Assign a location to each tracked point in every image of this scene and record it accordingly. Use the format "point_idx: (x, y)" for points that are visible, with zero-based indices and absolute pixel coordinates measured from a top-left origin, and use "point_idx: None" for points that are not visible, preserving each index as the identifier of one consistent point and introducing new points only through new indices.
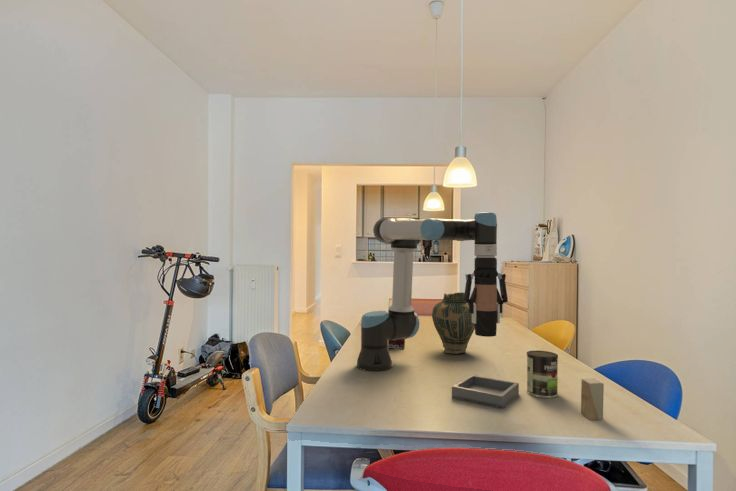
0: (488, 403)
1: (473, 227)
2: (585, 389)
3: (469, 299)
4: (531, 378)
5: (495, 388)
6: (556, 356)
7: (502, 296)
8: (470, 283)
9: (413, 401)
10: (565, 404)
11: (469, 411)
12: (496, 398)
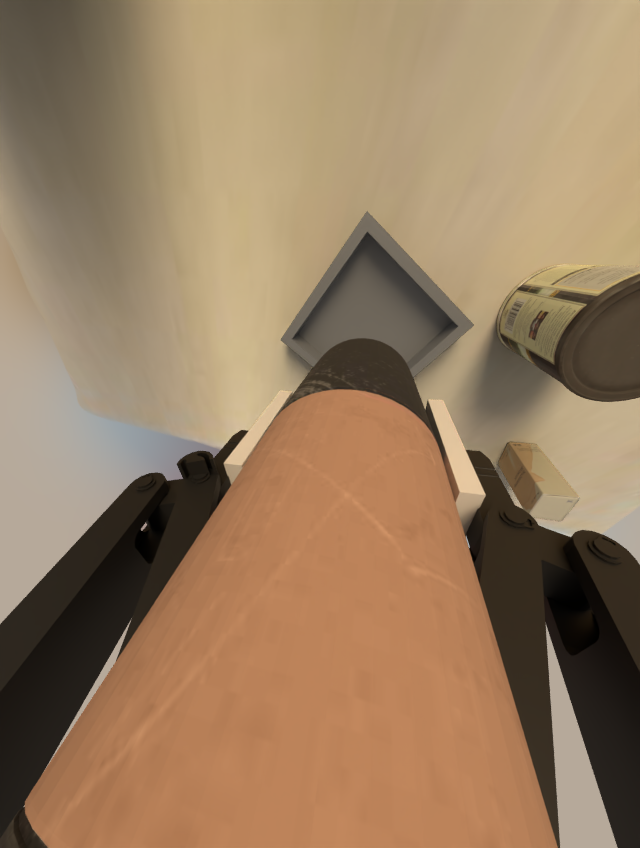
0: None
1: None
2: (525, 491)
3: (180, 495)
4: (517, 338)
5: (416, 286)
6: None
7: (604, 606)
8: (17, 783)
9: (213, 346)
10: (528, 395)
11: None
12: None
